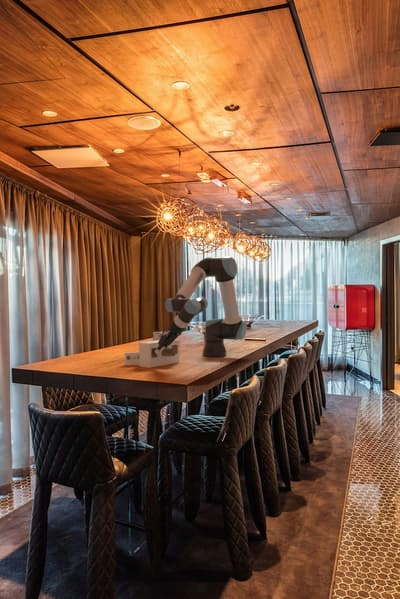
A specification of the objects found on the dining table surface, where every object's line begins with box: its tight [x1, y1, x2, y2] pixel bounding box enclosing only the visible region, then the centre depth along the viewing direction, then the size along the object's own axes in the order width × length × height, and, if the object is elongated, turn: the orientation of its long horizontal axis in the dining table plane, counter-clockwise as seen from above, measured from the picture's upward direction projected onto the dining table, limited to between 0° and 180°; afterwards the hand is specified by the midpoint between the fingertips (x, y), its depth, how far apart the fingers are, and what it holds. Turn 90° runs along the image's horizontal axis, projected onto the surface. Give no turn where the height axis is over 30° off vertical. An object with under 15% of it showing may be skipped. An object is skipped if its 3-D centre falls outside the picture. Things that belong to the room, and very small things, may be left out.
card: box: [124, 351, 139, 366], centre depth 257 cm, size 10×1×7 cm, turn 98°
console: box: [138, 338, 180, 369], centre depth 260 cm, size 24×8×13 cm, turn 141°
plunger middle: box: [162, 347, 175, 357], centre depth 256 cm, size 4×9×4 cm, turn 51°
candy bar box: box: [152, 331, 164, 341], centre depth 279 cm, size 11×5×16 cm, turn 76°
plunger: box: [151, 348, 157, 357], centre depth 254 cm, size 4×9×4 cm, turn 51°
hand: (156, 353), depth 250 cm, fingers closed
